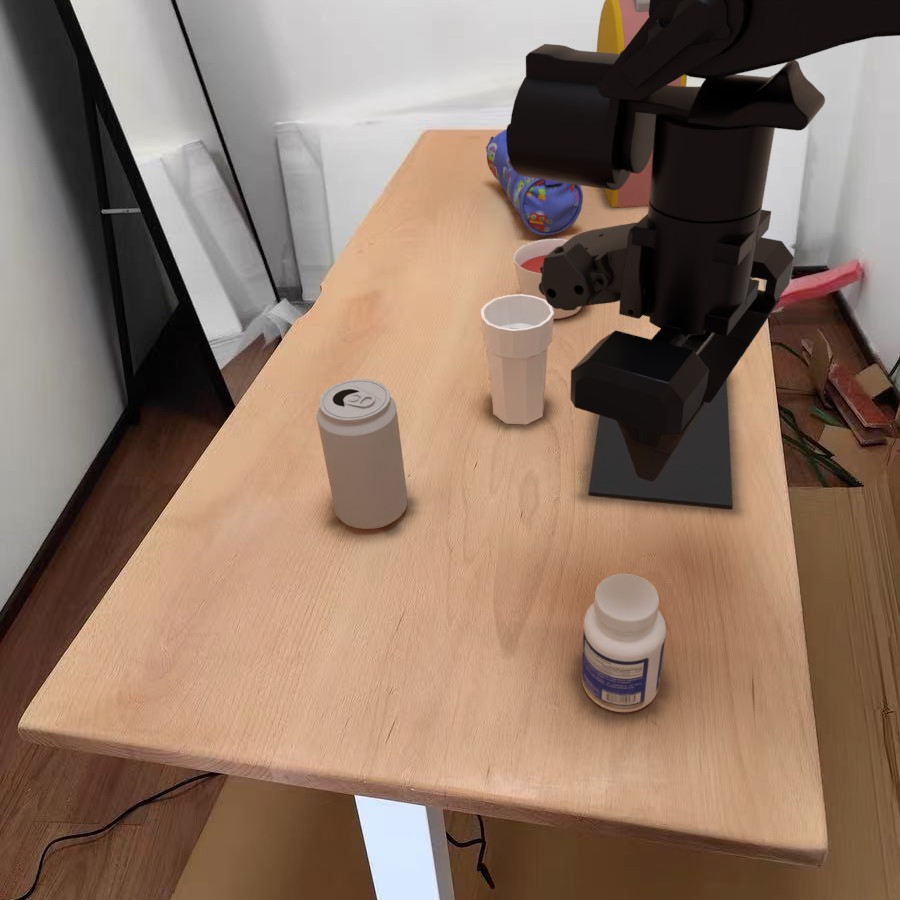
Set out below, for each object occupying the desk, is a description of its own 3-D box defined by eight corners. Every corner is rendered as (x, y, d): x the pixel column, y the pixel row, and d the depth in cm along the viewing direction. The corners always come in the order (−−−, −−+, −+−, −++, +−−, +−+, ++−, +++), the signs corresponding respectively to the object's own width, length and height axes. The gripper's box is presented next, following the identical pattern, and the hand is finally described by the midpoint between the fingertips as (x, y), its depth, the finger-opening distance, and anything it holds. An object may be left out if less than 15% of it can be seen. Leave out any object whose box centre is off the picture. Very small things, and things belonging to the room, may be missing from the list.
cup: (478, 396, 88) (473, 300, 81) (541, 385, 89) (541, 289, 82) (495, 434, 83) (490, 335, 76) (561, 422, 84) (563, 323, 77)
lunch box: (675, 203, 122) (697, -3, 105) (610, 207, 122) (622, 2, 106) (648, 151, 138) (663, -35, 122) (591, 155, 139) (599, -30, 122)
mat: (606, 369, 90) (606, 366, 90) (725, 377, 88) (726, 374, 88) (588, 495, 75) (588, 491, 75) (732, 509, 73) (732, 505, 72)
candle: (579, 283, 105) (581, 234, 101) (601, 319, 98) (603, 268, 94) (507, 292, 105) (506, 244, 101) (524, 329, 98) (523, 279, 94)
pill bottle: (612, 639, 63) (619, 553, 57) (673, 680, 60) (687, 593, 54) (565, 684, 60) (568, 597, 55) (627, 729, 57) (636, 642, 51)
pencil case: (485, 184, 132) (483, 120, 126) (540, 177, 133) (540, 113, 127) (522, 244, 115) (521, 174, 109) (585, 235, 116) (587, 165, 110)
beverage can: (360, 478, 79) (341, 368, 71) (421, 496, 76) (409, 384, 69) (321, 523, 75) (297, 410, 67) (385, 543, 72) (368, 429, 65)
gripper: (636, 126, 55) (622, 338, 64) (479, 241, 43) (490, 480, 53) (817, 150, 49) (772, 377, 59) (694, 289, 38) (663, 544, 47)
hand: (676, 437), depth 55 cm, fingers open, 9 cm apart
